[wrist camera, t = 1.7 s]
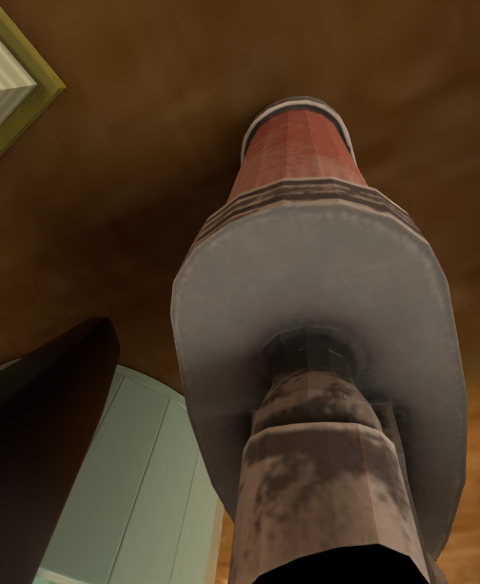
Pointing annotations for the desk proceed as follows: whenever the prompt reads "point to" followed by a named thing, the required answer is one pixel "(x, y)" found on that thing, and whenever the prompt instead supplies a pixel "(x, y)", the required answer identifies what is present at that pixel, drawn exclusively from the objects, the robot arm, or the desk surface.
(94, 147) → the desk surface
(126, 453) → the pen pot
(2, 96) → the hardcover book
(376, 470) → the lighter
